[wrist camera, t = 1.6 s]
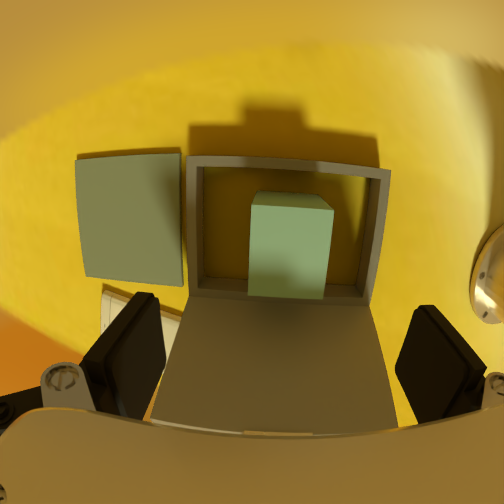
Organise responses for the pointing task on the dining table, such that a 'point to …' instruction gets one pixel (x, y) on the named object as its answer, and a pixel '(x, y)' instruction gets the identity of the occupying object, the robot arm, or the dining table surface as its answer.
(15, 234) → the dining table surface
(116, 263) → the mat
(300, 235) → the block
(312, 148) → the dining table surface
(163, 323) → the hard drive
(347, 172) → the case
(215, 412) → the lid
